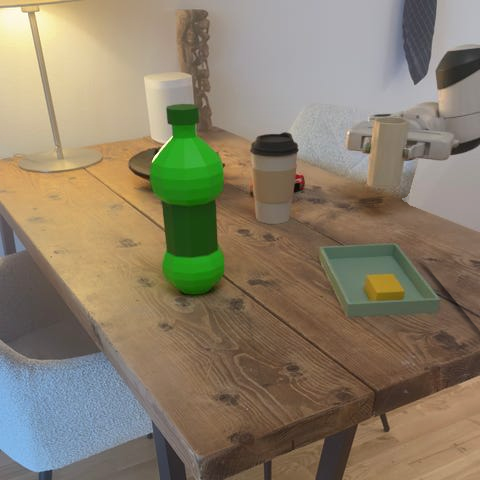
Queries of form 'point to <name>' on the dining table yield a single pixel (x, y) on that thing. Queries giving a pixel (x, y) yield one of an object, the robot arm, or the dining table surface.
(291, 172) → the coffee cup
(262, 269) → the dining table surface
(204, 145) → the plastic bottle
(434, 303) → the tray
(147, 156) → the oil lamp
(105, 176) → the dining table surface
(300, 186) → the race car
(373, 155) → the cup
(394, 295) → the sponge
